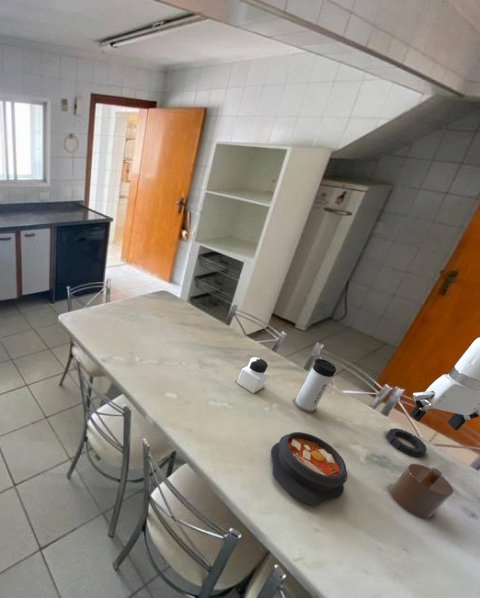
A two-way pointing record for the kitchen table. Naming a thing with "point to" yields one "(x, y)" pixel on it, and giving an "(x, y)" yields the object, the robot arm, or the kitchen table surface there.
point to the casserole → (308, 468)
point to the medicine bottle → (254, 375)
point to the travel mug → (315, 385)
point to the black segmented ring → (402, 447)
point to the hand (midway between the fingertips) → (432, 422)
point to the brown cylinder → (421, 490)
